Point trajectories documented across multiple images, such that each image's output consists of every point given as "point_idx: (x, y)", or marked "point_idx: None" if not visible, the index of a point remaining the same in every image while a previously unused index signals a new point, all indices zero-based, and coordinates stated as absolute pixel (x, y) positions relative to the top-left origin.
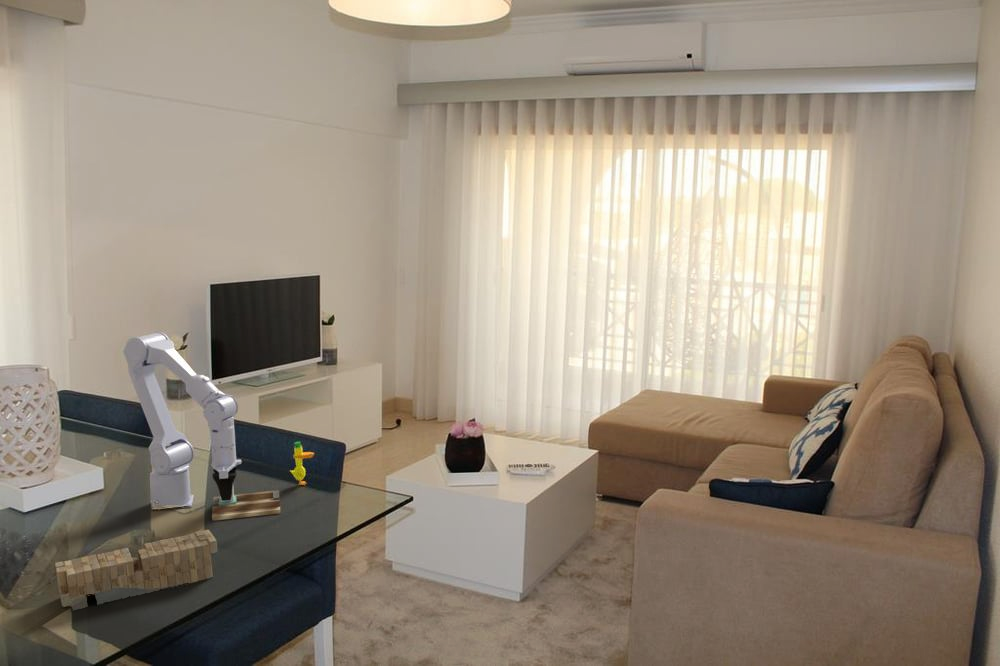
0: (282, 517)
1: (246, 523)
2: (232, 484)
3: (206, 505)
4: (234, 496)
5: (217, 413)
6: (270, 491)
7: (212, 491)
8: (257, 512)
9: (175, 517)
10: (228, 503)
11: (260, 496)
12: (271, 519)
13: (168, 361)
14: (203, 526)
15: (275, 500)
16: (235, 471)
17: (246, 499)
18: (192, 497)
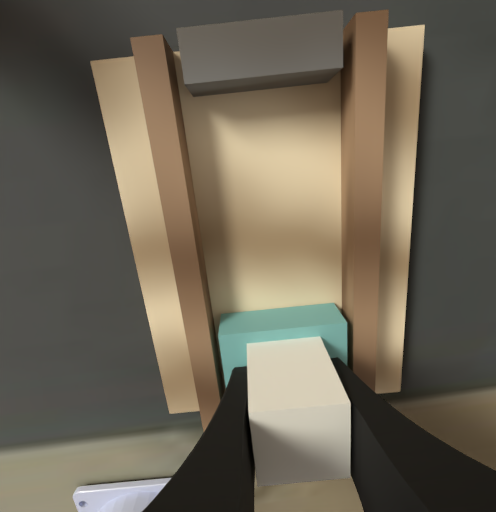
0: (484, 16)
1: (488, 227)
2: (428, 433)
3: (190, 424)
4: (243, 341)
5: None
6: (150, 111)
7: (4, 429)
8: (411, 181)
9: (305, 499)
10: (344, 356)
11: (189, 185)
12: (488, 90)
13: None
14: (443, 399)
15: (366, 49)
16: (237, 509)
17: (204, 266)
18: (108, 491)
